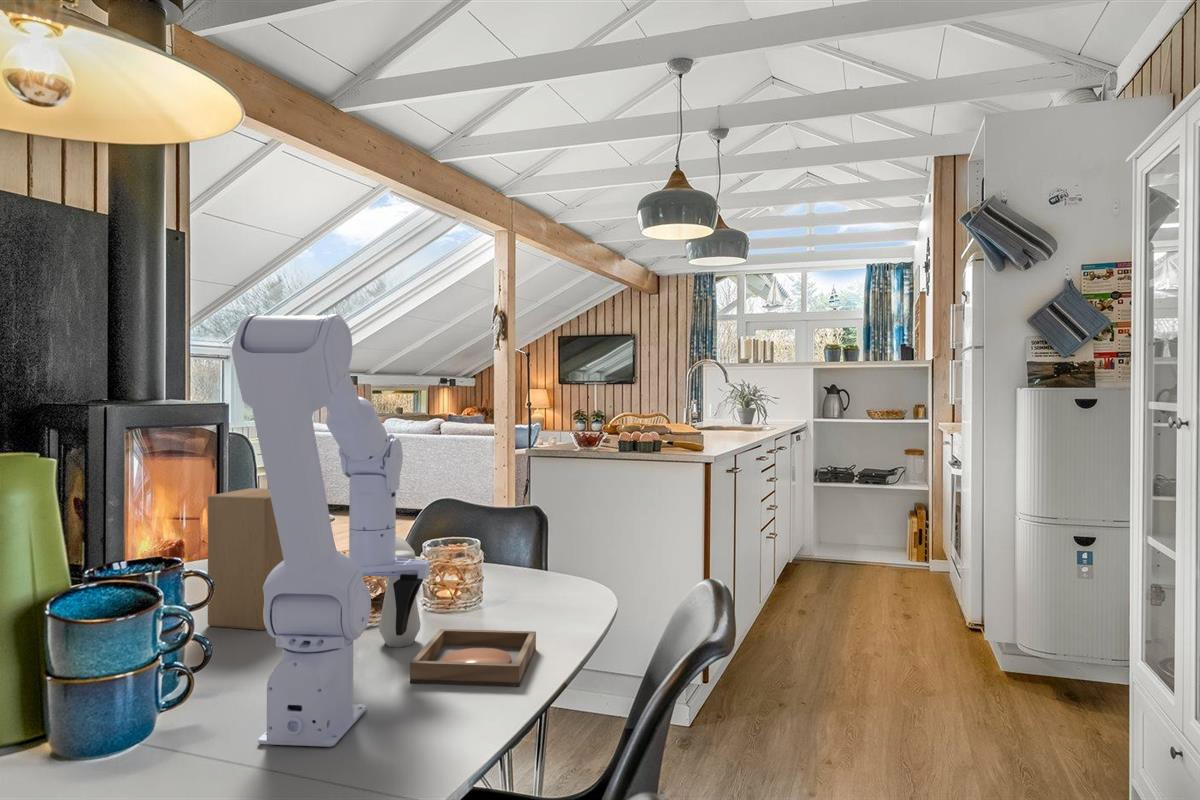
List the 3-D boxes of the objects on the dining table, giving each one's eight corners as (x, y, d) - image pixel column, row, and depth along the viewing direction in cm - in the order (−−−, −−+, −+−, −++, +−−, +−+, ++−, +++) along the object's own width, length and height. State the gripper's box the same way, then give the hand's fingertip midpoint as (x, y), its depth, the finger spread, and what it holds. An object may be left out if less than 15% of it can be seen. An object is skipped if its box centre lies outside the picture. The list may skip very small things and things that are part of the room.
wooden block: (303, 612, 124) (304, 489, 124) (264, 631, 114) (264, 497, 114) (249, 608, 126) (249, 487, 126) (206, 626, 116) (206, 495, 116)
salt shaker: (409, 650, 106) (409, 557, 106) (371, 647, 107) (371, 555, 107) (427, 637, 112) (427, 548, 112) (390, 634, 113) (391, 547, 113)
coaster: (504, 674, 96) (504, 672, 96) (433, 672, 96) (433, 670, 96) (516, 650, 105) (516, 648, 105) (451, 648, 105) (452, 646, 105)
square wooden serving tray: (519, 686, 93) (519, 666, 93) (409, 682, 94) (410, 662, 94) (535, 649, 107) (535, 631, 107) (440, 646, 108) (440, 628, 108)
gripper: (436, 522, 102) (436, 624, 102) (330, 520, 103) (330, 621, 103) (420, 532, 95) (420, 641, 95) (307, 530, 96) (306, 638, 96)
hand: (372, 632), depth 98 cm, fingers open, 7 cm apart
